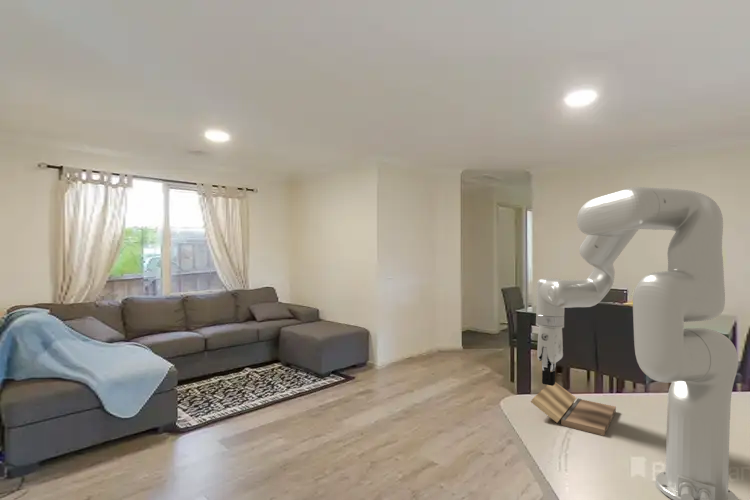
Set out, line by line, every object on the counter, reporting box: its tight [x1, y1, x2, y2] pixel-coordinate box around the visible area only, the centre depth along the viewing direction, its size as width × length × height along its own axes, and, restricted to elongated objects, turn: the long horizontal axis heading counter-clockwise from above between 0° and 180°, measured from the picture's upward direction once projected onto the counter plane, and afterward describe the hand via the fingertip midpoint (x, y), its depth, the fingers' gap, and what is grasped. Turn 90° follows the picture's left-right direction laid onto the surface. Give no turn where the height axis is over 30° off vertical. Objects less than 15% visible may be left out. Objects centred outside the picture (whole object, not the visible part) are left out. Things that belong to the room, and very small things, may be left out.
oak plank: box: [530, 381, 577, 424], centre depth 121 cm, size 20×8×2 cm
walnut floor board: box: [560, 398, 617, 437], centre depth 116 cm, size 20×10×2 cm, turn 143°
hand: (548, 384), depth 122 cm, fingers closed
